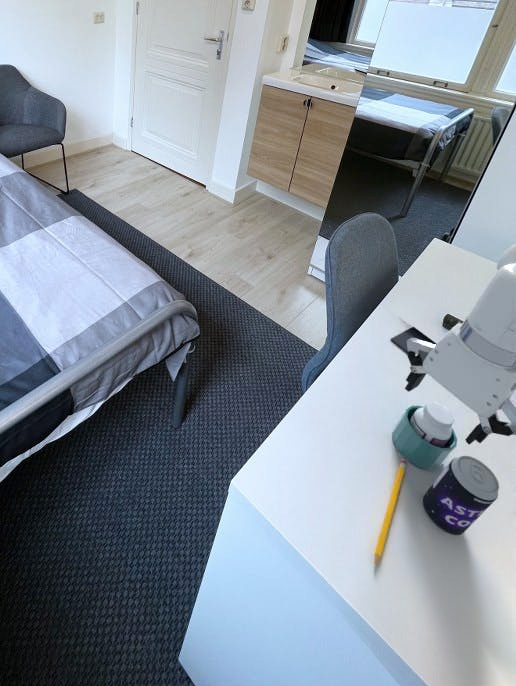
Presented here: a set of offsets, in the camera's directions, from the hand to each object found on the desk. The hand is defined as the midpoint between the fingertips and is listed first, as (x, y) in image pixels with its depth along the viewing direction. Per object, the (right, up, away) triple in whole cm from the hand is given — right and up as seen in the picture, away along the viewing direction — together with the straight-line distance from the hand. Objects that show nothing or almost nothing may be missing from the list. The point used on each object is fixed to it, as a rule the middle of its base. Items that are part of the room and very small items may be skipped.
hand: (439, 411), depth 70 cm
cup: (-1, -9, +5) cm, 10 cm away
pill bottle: (-1, -9, +5) cm, 10 cm away
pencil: (-11, -13, -4) cm, 18 cm away
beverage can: (-3, -14, -4) cm, 15 cm away
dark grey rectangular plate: (+17, 0, +25) cm, 31 cm away
